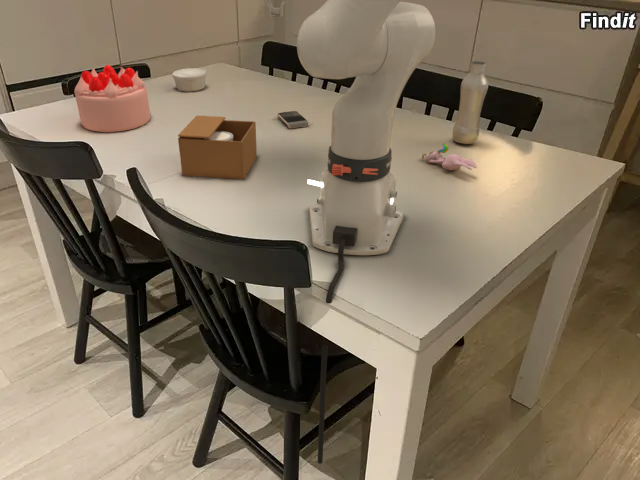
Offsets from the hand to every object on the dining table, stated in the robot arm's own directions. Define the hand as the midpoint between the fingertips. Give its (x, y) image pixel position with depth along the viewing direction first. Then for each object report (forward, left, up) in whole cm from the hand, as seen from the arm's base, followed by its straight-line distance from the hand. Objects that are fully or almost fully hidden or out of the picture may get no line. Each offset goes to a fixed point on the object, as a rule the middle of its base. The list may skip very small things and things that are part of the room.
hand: (276, 16), depth 129 cm
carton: (-15, +11, -31) cm, 36 cm away
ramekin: (+47, +39, -31) cm, 69 cm away
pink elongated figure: (-9, -42, -31) cm, 53 cm away
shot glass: (-15, +11, -31) cm, 36 cm away
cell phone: (+18, -1, -31) cm, 36 cm away
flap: (-15, +15, -22) cm, 30 cm away
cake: (+11, +50, -31) cm, 60 cm away
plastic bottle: (+9, -48, -31) cm, 58 cm away
